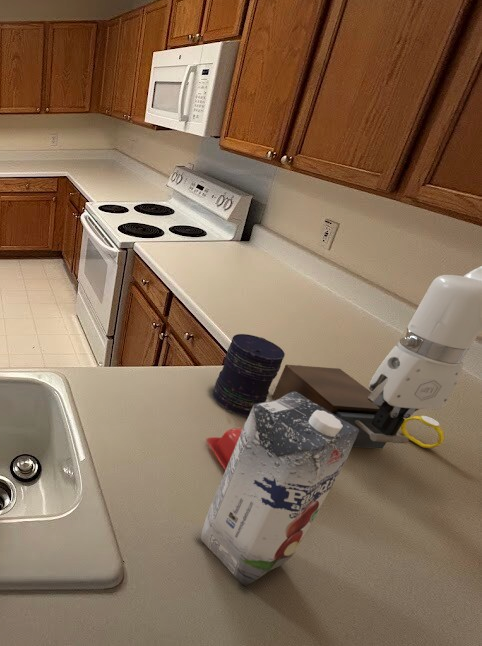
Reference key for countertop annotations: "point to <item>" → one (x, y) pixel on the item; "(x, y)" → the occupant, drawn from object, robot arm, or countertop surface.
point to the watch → (428, 422)
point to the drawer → (368, 429)
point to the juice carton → (275, 484)
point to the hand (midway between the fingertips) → (382, 429)
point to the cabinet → (325, 388)
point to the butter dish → (224, 445)
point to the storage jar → (247, 373)
